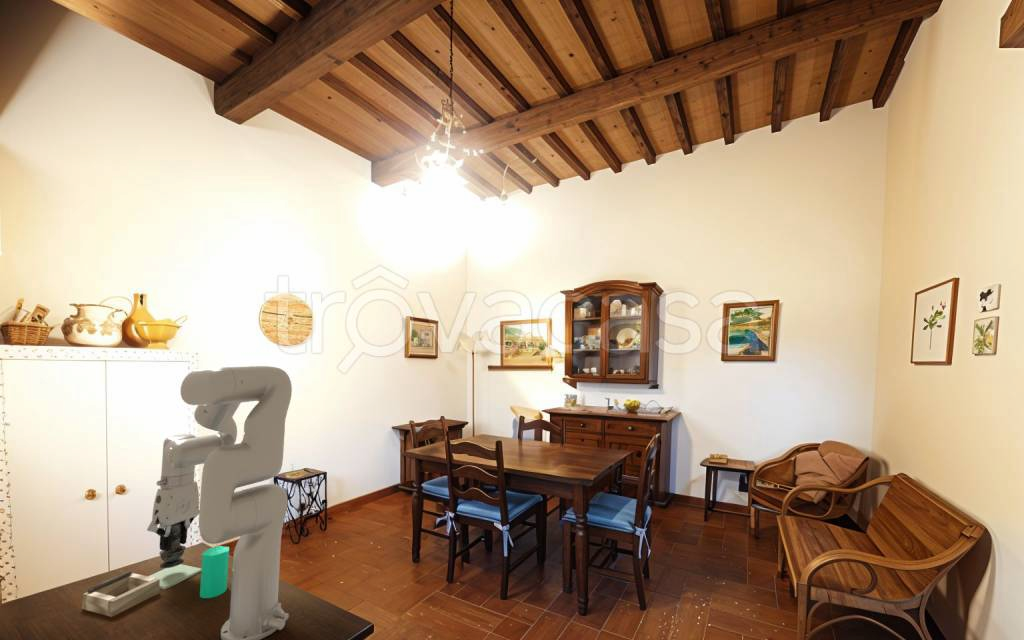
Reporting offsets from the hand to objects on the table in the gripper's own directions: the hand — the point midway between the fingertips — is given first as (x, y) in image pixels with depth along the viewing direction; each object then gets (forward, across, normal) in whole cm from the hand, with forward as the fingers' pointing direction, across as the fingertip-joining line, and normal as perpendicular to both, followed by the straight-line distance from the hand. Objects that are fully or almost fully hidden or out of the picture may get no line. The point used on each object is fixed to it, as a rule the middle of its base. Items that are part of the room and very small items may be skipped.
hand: (173, 545), depth 120 cm
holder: (+8, -12, 0) cm, 15 cm away
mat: (+8, 0, 0) cm, 8 cm away
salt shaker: (+5, 0, 0) cm, 5 cm away
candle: (+9, -2, -18) cm, 20 cm away
